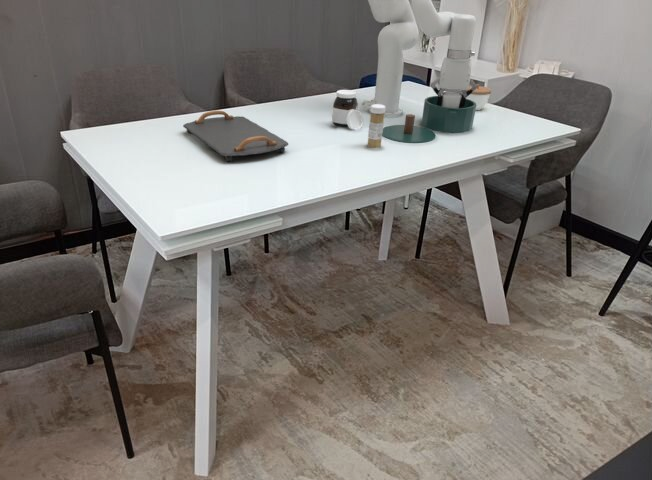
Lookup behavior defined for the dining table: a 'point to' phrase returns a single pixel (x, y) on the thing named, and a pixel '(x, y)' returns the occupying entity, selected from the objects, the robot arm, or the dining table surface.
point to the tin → (448, 116)
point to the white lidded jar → (479, 96)
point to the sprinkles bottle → (376, 125)
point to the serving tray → (234, 135)
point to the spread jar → (346, 110)
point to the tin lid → (408, 132)
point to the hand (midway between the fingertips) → (449, 107)
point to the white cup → (451, 99)
